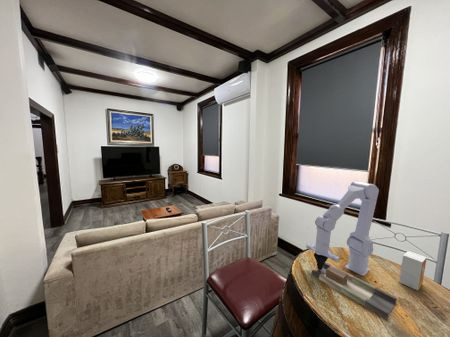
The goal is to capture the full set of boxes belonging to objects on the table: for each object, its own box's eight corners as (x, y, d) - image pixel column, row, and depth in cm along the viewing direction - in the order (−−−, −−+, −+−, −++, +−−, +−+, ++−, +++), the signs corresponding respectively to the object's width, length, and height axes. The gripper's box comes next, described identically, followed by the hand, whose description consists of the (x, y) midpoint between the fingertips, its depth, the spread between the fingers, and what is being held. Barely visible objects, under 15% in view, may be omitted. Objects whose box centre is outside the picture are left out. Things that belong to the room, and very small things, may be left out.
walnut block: (330, 273, 87) (331, 265, 86) (347, 282, 81) (348, 273, 81) (325, 277, 84) (326, 268, 83) (342, 286, 78) (343, 277, 78)
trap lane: (324, 266, 93) (325, 261, 92) (396, 303, 71) (396, 297, 71) (311, 275, 85) (311, 270, 85) (386, 320, 63) (387, 313, 63)
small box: (418, 291, 79) (422, 262, 77) (398, 282, 84) (402, 255, 83) (422, 284, 83) (427, 257, 82) (403, 276, 88) (407, 250, 87)
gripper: (303, 237, 90) (301, 263, 92) (335, 251, 79) (332, 280, 80) (311, 234, 95) (308, 259, 96) (342, 246, 83) (339, 275, 84)
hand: (319, 268), depth 88 cm, fingers closed
